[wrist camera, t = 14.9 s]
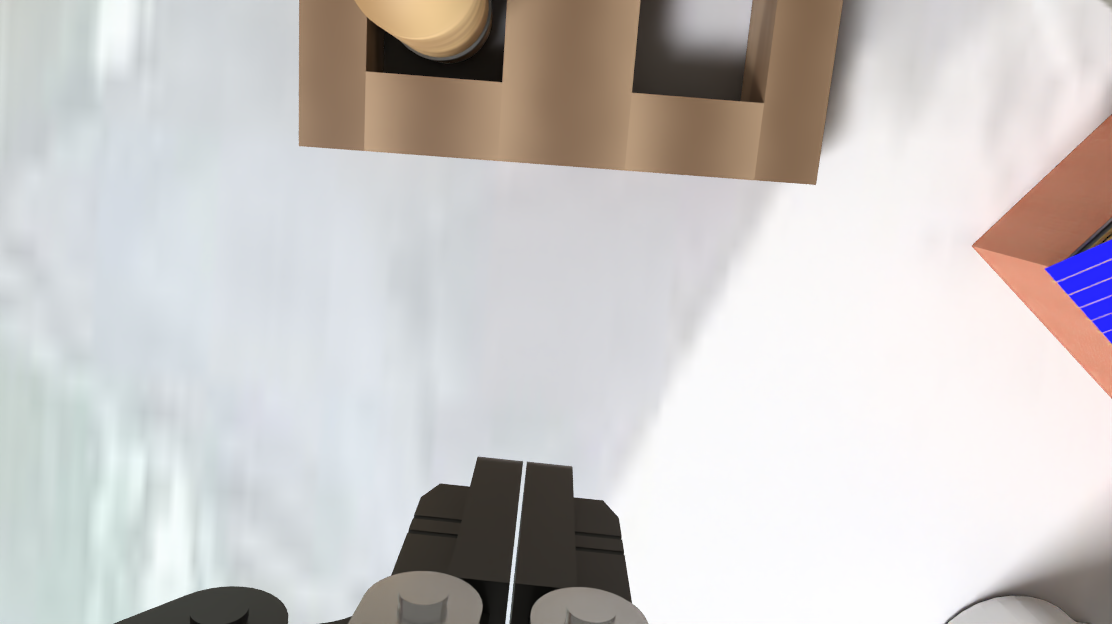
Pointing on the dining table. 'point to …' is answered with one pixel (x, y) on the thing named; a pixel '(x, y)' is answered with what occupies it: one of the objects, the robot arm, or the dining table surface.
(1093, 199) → the house
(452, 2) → the wooden pepper mill
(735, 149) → the walnut board
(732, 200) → the dining table surface
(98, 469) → the dining table surface
